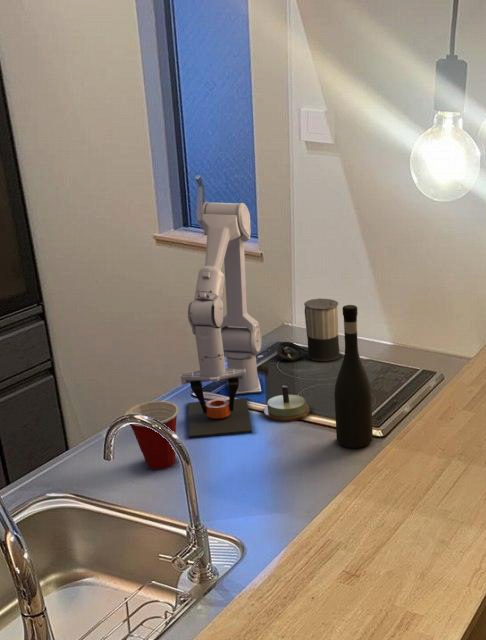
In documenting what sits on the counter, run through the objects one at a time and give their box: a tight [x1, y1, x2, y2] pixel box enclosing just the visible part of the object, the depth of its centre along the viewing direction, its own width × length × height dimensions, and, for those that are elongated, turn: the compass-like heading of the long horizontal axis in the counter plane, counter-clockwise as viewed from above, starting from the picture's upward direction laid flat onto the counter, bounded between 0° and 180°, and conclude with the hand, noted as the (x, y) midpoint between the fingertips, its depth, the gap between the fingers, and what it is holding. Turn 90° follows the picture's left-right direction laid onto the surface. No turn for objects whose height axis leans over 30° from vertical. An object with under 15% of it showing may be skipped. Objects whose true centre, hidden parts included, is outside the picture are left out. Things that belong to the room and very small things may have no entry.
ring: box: [205, 398, 231, 419], centre depth 200 cm, size 6×6×3 cm
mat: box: [187, 397, 253, 439], centre depth 201 cm, size 20×14×1 cm
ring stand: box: [263, 384, 311, 423], centre depth 202 cm, size 11×11×7 cm
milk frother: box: [276, 298, 341, 362], centre depth 233 cm, size 14×16×15 cm
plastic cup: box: [124, 400, 179, 470], centre depth 177 cm, size 11×11×12 cm
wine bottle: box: [333, 304, 374, 449], centre depth 182 cm, size 8×8×30 cm
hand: (218, 410), depth 200 cm, fingers closed on ring, 5 cm apart
